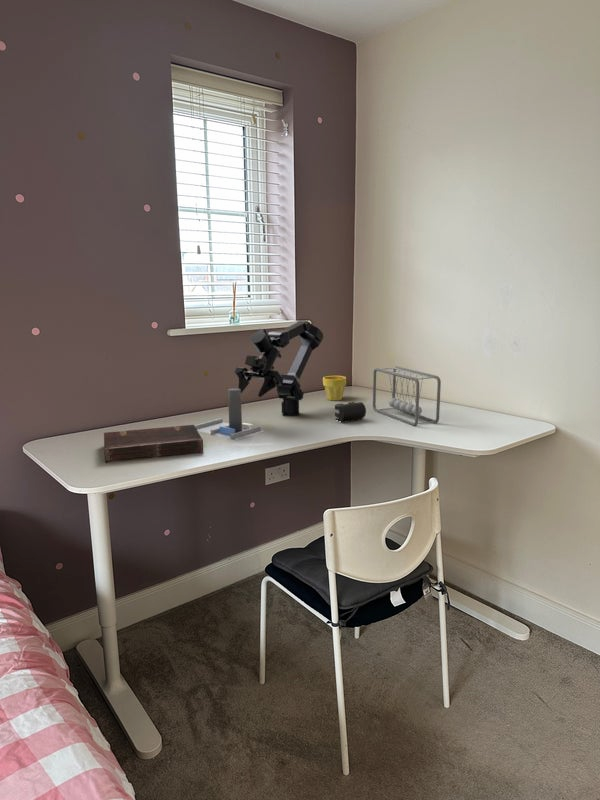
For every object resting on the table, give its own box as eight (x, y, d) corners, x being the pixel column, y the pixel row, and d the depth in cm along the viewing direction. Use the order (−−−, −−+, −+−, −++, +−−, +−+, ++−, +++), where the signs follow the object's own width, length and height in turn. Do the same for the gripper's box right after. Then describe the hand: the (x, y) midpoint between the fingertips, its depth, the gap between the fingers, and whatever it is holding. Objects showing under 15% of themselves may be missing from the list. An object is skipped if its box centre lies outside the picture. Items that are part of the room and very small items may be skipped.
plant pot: (318, 399, 254) (318, 377, 252) (332, 395, 262) (332, 374, 260) (336, 402, 248) (337, 380, 245) (350, 398, 255) (350, 377, 253)
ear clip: (252, 428, 203) (252, 424, 203) (248, 429, 202) (248, 425, 201) (244, 426, 206) (244, 422, 205) (240, 427, 204) (240, 423, 204)
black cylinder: (344, 424, 211) (344, 406, 210) (333, 420, 217) (333, 402, 216) (366, 421, 216) (366, 403, 215) (355, 417, 222) (355, 400, 221)
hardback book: (105, 464, 169) (104, 448, 168) (105, 447, 186) (103, 432, 185) (203, 454, 178) (202, 438, 177) (194, 438, 195) (193, 424, 194)
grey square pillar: (240, 429, 202) (239, 388, 199) (243, 432, 198) (241, 390, 195) (228, 430, 201) (226, 388, 198) (230, 434, 197) (229, 391, 193)
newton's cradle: (439, 424, 210) (441, 376, 207) (416, 427, 206) (417, 378, 202) (393, 407, 237) (394, 365, 233) (372, 410, 233) (372, 367, 229)
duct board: (264, 432, 200) (264, 424, 200) (236, 441, 190) (236, 432, 189) (217, 422, 215) (216, 414, 214) (188, 430, 204) (188, 422, 204)
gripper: (236, 345, 209) (217, 379, 202) (277, 348, 199) (259, 384, 192) (250, 363, 217) (232, 397, 211) (291, 367, 207) (273, 402, 200)
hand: (248, 395), depth 203 cm, fingers open, 9 cm apart
